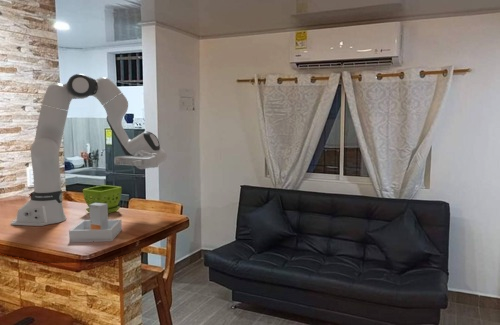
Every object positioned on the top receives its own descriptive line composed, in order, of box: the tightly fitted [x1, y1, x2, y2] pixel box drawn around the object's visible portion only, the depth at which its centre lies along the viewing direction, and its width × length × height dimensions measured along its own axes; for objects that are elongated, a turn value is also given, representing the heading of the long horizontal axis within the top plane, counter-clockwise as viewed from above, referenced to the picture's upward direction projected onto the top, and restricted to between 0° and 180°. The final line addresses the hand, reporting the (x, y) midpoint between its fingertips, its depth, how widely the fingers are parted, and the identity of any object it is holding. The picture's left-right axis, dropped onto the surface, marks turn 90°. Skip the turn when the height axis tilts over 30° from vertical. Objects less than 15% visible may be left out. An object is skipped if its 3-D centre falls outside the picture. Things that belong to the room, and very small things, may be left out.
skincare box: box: [88, 203, 109, 230], centre depth 163 cm, size 6×4×12 cm
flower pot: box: [82, 184, 123, 214], centre depth 202 cm, size 14×14×13 cm
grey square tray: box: [68, 219, 123, 243], centre depth 163 cm, size 16×16×4 cm
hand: (124, 162), depth 178 cm, fingers open, 8 cm apart
